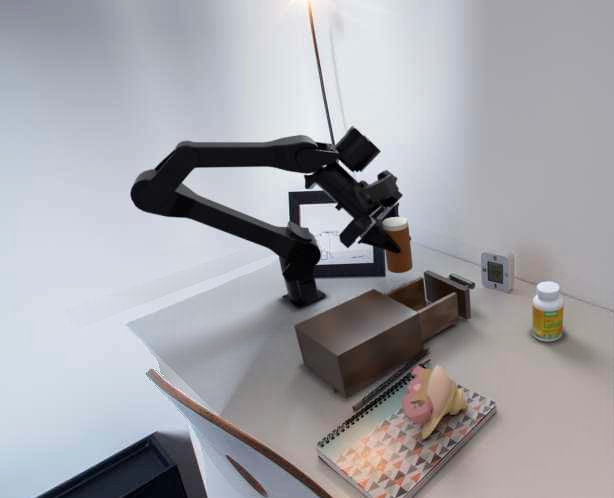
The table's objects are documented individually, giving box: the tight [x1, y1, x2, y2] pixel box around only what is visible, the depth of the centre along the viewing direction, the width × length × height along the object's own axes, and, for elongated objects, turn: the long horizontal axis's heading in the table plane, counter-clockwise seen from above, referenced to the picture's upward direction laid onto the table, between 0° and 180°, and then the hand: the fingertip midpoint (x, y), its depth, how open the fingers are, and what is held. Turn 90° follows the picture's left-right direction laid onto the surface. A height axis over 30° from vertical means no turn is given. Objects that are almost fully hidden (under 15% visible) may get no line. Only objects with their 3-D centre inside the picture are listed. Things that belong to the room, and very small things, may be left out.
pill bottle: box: [382, 216, 414, 274], centre depth 105 cm, size 5×5×10 cm
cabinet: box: [293, 288, 425, 399], centre depth 88 cm, size 16×13×8 cm
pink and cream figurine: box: [401, 364, 469, 440], centre depth 75 cm, size 9×10×10 cm
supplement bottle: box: [531, 280, 565, 343], centre depth 93 cm, size 5×5×10 cm
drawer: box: [383, 269, 476, 342], centre depth 97 cm, size 19×11×6 cm, turn 137°
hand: (405, 246), depth 104 cm, fingers closed on pill bottle, 5 cm apart
